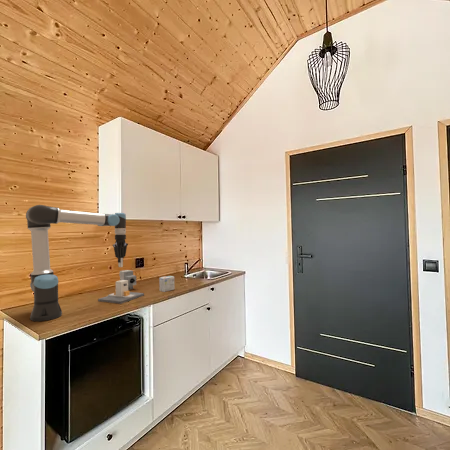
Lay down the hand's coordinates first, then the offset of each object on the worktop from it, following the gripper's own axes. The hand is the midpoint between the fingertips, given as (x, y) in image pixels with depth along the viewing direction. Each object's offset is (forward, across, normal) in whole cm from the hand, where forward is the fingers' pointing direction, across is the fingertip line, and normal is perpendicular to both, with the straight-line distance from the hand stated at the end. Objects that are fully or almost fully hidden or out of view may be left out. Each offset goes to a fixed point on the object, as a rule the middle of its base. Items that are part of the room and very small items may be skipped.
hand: (120, 266), depth 197 cm
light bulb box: (+23, +33, -18) cm, 43 cm away
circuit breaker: (+23, +24, +14) cm, 36 cm away
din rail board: (+23, 0, -1) cm, 23 cm away
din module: (+20, +1, -1) cm, 20 cm away
